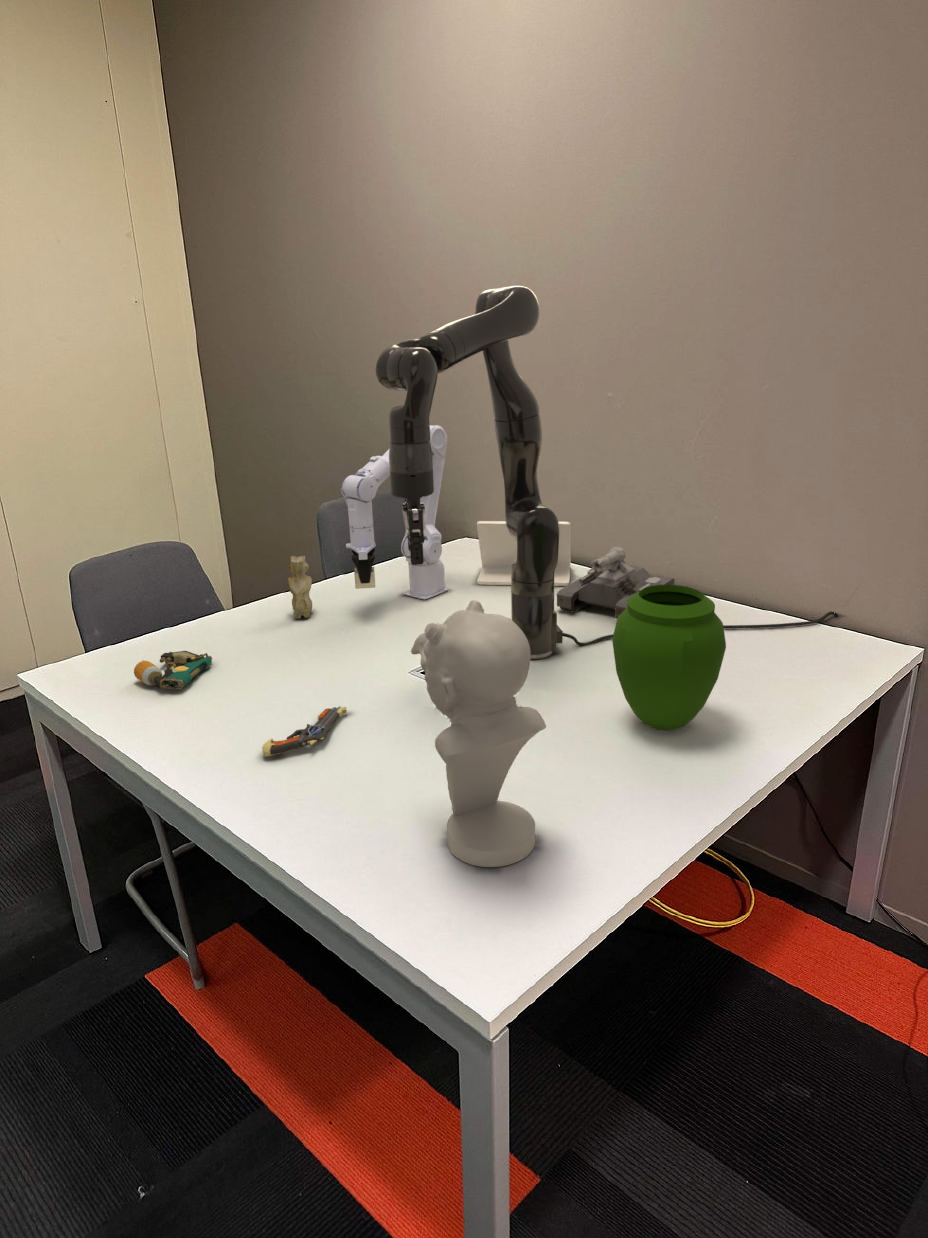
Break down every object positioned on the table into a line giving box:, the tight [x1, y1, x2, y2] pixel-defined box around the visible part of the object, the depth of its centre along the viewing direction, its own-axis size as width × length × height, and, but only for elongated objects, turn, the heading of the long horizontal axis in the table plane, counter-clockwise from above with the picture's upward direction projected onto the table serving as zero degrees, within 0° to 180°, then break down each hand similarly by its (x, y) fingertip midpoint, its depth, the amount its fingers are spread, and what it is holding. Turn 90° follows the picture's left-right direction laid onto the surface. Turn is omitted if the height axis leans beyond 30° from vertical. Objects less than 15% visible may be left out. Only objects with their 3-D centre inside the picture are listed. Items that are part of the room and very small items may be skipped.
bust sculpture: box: [410, 599, 547, 868], centre depth 121 cm, size 16×24×35 cm
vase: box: [611, 584, 727, 731], centre depth 151 cm, size 20×20×24 cm
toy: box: [556, 546, 676, 620], centre depth 212 cm, size 25×20×15 cm
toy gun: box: [261, 705, 348, 758], centre depth 154 cm, size 3×19×10 cm
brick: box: [353, 566, 376, 590], centre depth 209 cm, size 4×5×4 cm
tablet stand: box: [476, 520, 572, 587], centre depth 236 cm, size 18×25×17 cm
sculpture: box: [287, 554, 313, 619], centre depth 211 cm, size 6×7×15 cm
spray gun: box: [133, 650, 213, 690], centre depth 180 cm, size 4×17×15 cm
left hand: (365, 579), depth 209 cm, fingers closed on brick, 4 cm apart
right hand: (415, 557), depth 154 cm, fingers open, 8 cm apart
